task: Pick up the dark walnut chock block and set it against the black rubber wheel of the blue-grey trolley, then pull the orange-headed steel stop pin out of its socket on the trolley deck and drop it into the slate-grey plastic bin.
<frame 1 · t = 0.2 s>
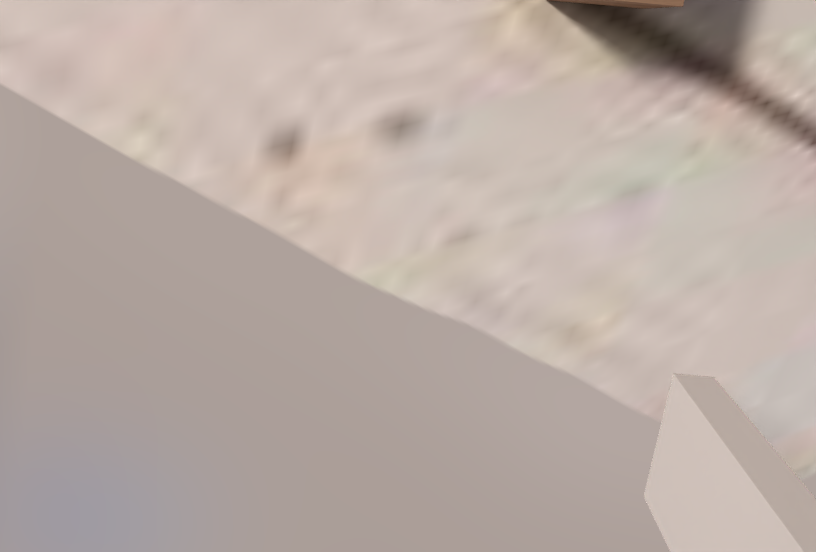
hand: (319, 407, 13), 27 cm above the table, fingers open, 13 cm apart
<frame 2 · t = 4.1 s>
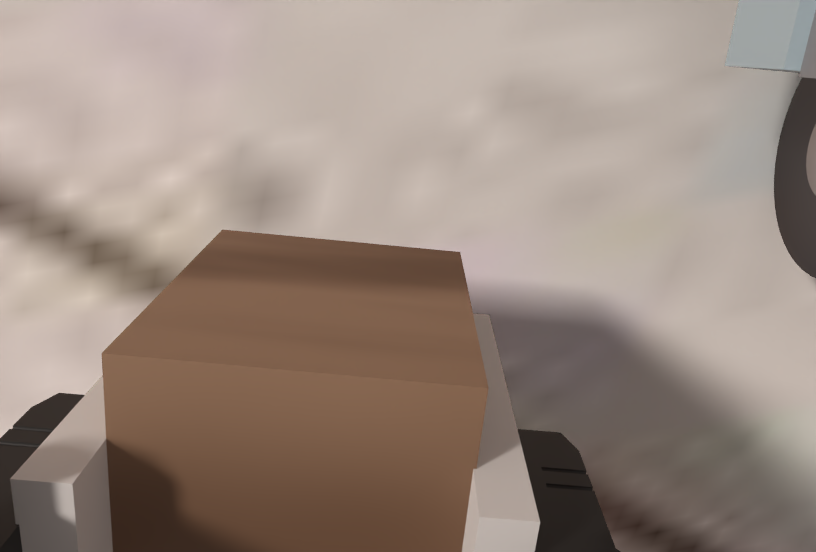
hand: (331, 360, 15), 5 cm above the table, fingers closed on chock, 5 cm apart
chock: (333, 359, 16), point 5 cm above the table, touching gripper
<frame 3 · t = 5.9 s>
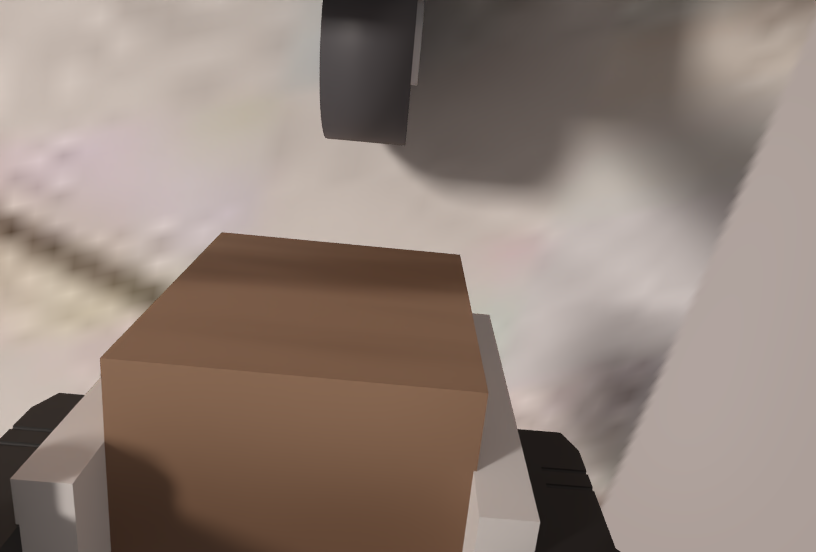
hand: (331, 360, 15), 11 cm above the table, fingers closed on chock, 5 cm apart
chock: (333, 361, 16), point 11 cm above the table, touching gripper
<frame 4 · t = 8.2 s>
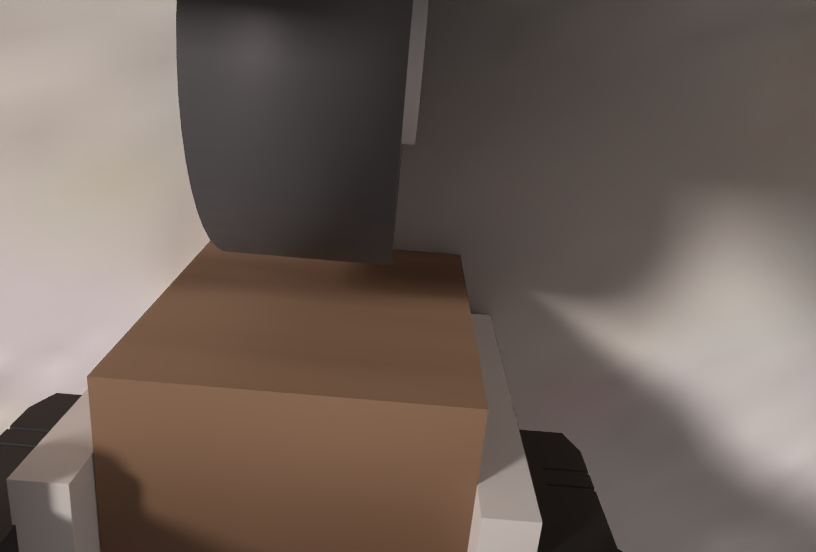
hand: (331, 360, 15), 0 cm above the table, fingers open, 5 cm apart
chock: (331, 364, 15), on the table, touching gripper
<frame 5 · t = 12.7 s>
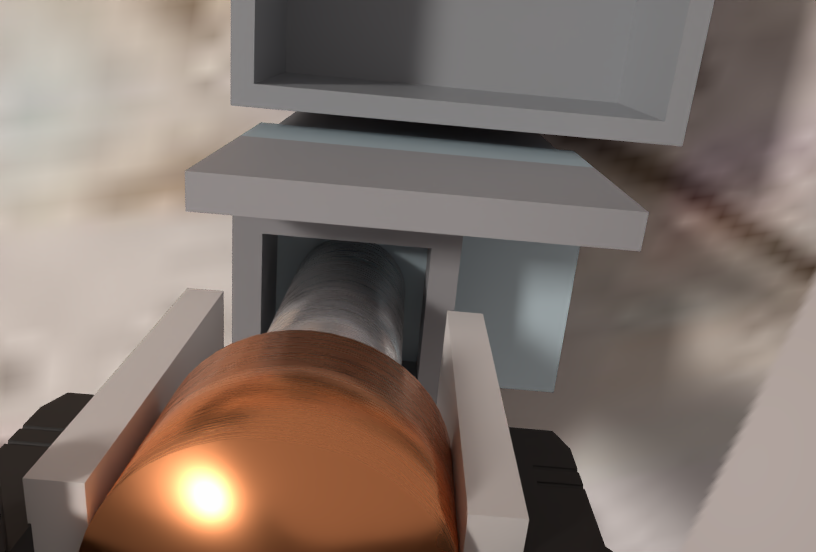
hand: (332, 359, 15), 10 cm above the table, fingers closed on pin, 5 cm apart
trolley: (406, 246, 25), on the table
pin: (349, 289, 19), point 6 cm above the table, touching gripper, trolley
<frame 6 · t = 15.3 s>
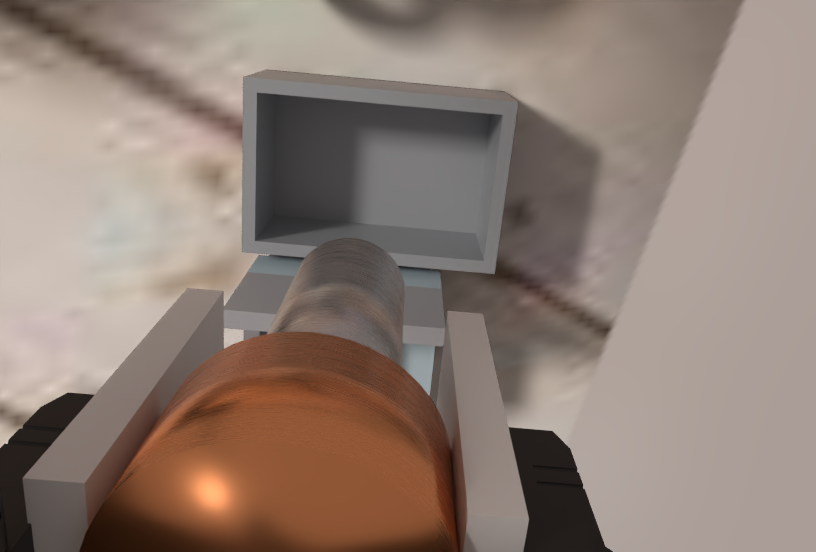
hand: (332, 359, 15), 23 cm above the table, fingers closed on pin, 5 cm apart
bin: (380, 159, 37), on the table
trolley: (350, 316, 40), on the table
pin: (349, 290, 19), point 19 cm above the table, touching gripper
when the fingers open (7 cm above the table, at t = 17.8 s): pin drops 3 cm, resting on bin.
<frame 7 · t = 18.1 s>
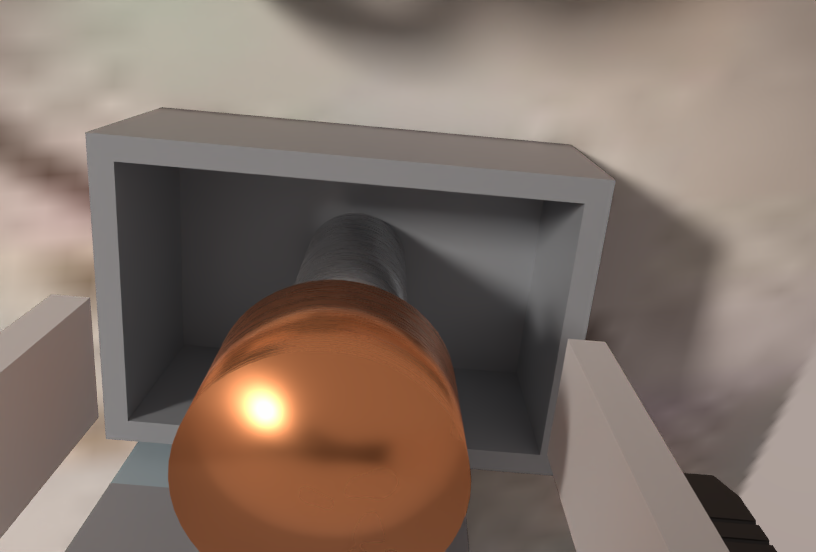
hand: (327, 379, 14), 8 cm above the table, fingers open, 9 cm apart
bin: (358, 255, 22), on the table
trolley: (314, 492, 25), on the table
pin: (356, 260, 21), resting on bin
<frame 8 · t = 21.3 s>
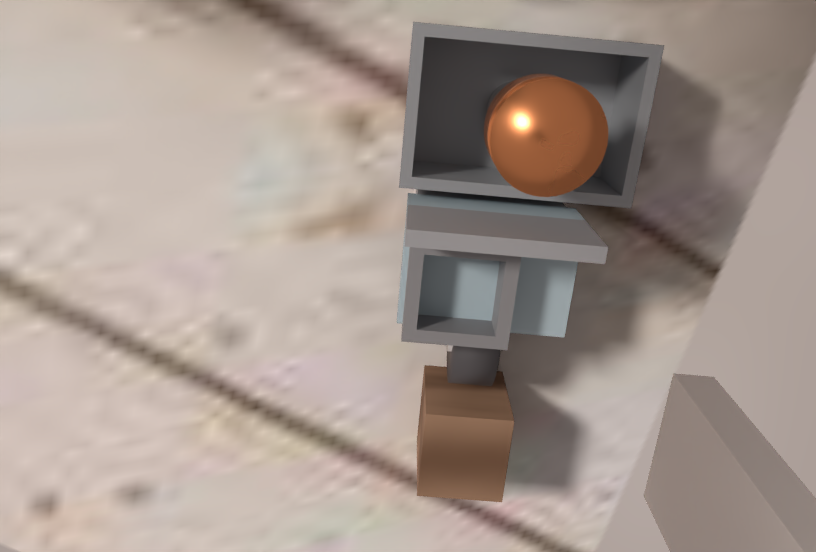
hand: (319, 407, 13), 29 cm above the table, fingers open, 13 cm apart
bin: (513, 107, 39), on the table
chock: (458, 405, 46), on the table
trolley: (476, 257, 42), on the table
pin: (513, 108, 39), resting on bin
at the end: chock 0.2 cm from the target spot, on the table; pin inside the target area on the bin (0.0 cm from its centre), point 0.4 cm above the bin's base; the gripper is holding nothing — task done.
